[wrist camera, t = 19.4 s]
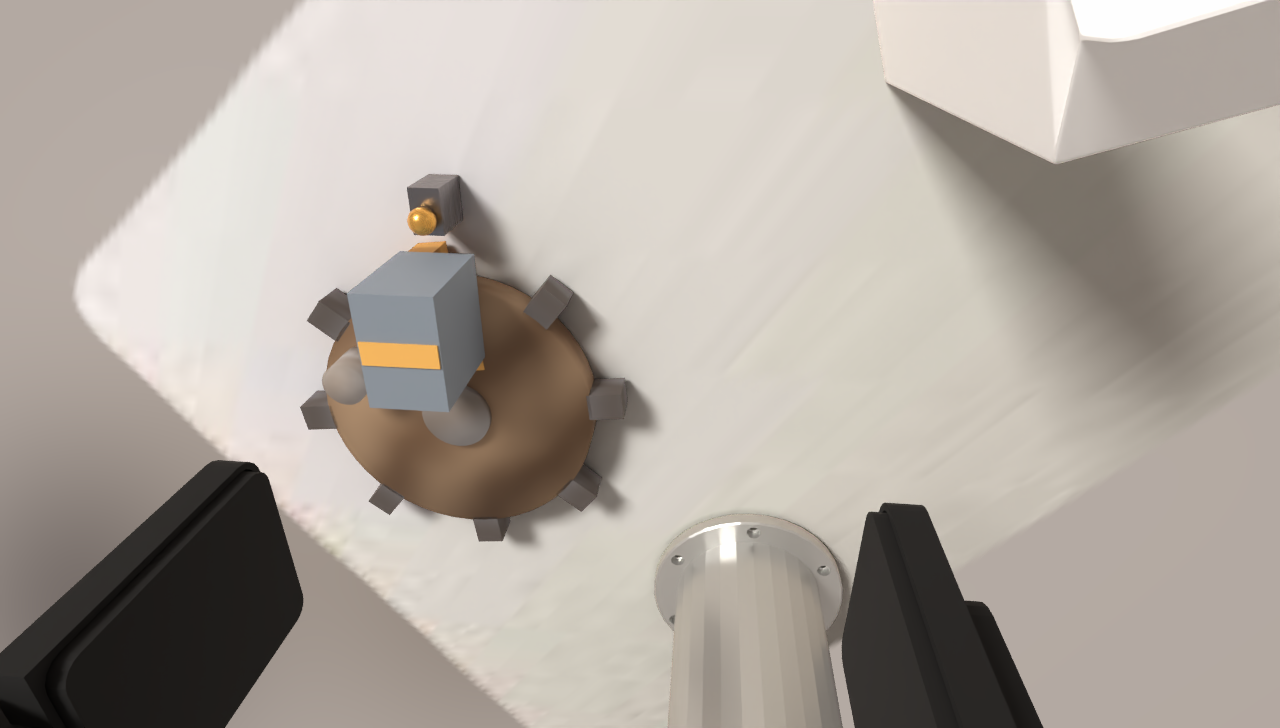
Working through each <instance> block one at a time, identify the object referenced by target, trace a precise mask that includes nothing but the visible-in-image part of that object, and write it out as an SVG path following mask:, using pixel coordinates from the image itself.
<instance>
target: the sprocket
mask: <svg viewBox="0 0 1280 728" xmlns="http://www.w3.org/2000/svg"><path fill="white" fill-rule="evenodd" d="M408 252H431V253H448V249H447V245H446V241H443V242H429V243H418V244H417V245H415V246H414V247H413V248H412V249H411V250H409V251H408ZM476 277H477V286H478V295H479V305H480V314H481V323H482V332H483V342H484V351H485V358H484V359H483V361H482V362H481V364H480V365H479V367H478V368H477V370H476V372H475V373H474V375H473V376H472V378H471V379H470V381H469V382H468V384H467V385H466V387H465V388H464V390H463V392H462V393H461V395H460V396H459V398H458V399H457V401H456V402H455V404H454V405H453V407H452V409H451V410H450V412H436V411H418V410H401V409H383V408H370V407H369V402H368V397H367V392H366V387H365V382H364V377H363V372H362V367H361V362H360V357H359V352H358V347H357V342H356V337H355V332H354V327H353V322H352V317H351V312H350V307H349V302H348V297H347V295H346V294H344V293H343V292H342V291H340V290H339V289H337V288H336V289H335V290H333V291H332V292H331V293H329V294H328V295H327V296H325V297H324V298H323V299H321V300H320V301H319V302H318V304H317V306H316V307H315V309H314V310H313V312H312V313H311V315H310V317H309V318H308V320H307V321H308V322H309V323H311V324H312V325H314V326H315V327H316V328H318V329H319V330H321V331H322V332H324V333H325V334H326V335H328V336H329V337H331V338H332V339H334V340H335V342H334V344H333V347H332V350H331V353H330V356H329V359H328V365H327V370H326V372H325V373H324V375H323V378H322V384H323V387H324V390H325V391H316V392H315V393H314V394H313V395H312V396H311V397H310V398H309V399H308V400H307V401H306V402H305V403H304V404H303V405H302V406H301V407H300V408H301V411H302V413H303V416H304V419H305V421H306V424H307V427H308V430H311V429H337V431H338V433H339V434H340V436H341V438H342V440H343V441H344V443H345V445H346V447H347V448H348V449H349V451H350V452H351V453H352V455H353V456H354V457H355V459H356V460H357V461H358V462H359V463H360V464H361V465H362V467H363V468H364V469H365V470H366V471H367V472H368V473H369V474H371V475H372V476H373V477H374V478H375V479H376V480H377V481H378V482H380V483H381V484H380V486H379V487H378V488H377V490H376V491H375V493H374V494H373V496H372V497H371V498H370V500H369V502H370V503H372V504H373V505H375V506H377V507H378V508H380V509H381V510H383V511H384V512H386V513H387V514H389V515H390V514H391V513H392V512H393V510H394V509H395V508H396V507H397V506H398V504H399V503H400V502H401V501H402V500H403V499H405V500H407V501H409V502H412V503H414V504H416V505H418V506H420V507H422V508H425V509H428V510H431V511H434V512H437V513H440V514H444V515H449V516H453V517H459V518H466V519H473V521H474V524H475V528H476V532H477V536H478V540H479V541H503V539H504V536H505V533H506V531H507V528H508V526H509V523H510V517H511V516H516V515H520V514H523V513H526V512H529V511H532V510H534V509H536V508H538V507H540V506H542V505H544V504H546V503H547V502H549V501H550V500H552V499H554V498H555V497H556V496H559V497H561V498H562V499H564V500H565V501H567V502H568V503H569V504H571V505H572V506H574V507H575V508H577V509H578V510H580V511H581V512H582V511H583V510H584V509H585V508H586V507H587V506H588V505H589V504H590V503H591V502H592V501H593V500H594V499H595V498H596V497H597V494H598V490H599V485H600V481H601V477H600V476H599V475H597V474H596V473H595V472H593V471H592V470H590V469H589V468H588V467H586V466H585V465H583V463H584V461H585V458H586V456H587V454H588V451H589V447H590V444H591V440H592V437H593V433H594V429H595V425H596V420H604V419H624V415H625V411H626V406H627V402H628V401H627V393H626V385H625V378H612V379H594V377H593V374H592V371H591V368H590V366H589V363H588V360H587V358H586V357H585V355H584V353H583V351H582V349H581V347H580V345H579V344H578V343H577V341H576V340H575V338H574V337H573V335H572V334H571V333H570V331H569V330H568V329H567V328H566V327H565V326H564V325H563V324H562V322H561V321H560V320H559V319H558V318H557V317H558V316H559V315H560V313H561V312H562V311H563V310H564V309H565V308H566V306H567V304H568V302H569V300H570V298H571V296H572V294H573V292H572V291H571V290H570V289H568V288H567V287H566V286H564V285H563V284H562V283H561V282H559V281H558V280H557V279H555V278H554V277H553V276H552V275H550V276H549V277H548V278H547V280H546V281H545V282H544V283H543V285H542V286H541V287H540V288H539V289H538V291H537V292H536V293H535V294H534V296H533V297H532V298H531V297H530V296H528V295H526V294H524V293H522V292H520V291H519V290H517V289H515V288H513V287H511V286H508V285H506V284H503V283H500V282H498V281H495V280H492V279H488V278H484V277H480V276H476Z"/></svg>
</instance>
